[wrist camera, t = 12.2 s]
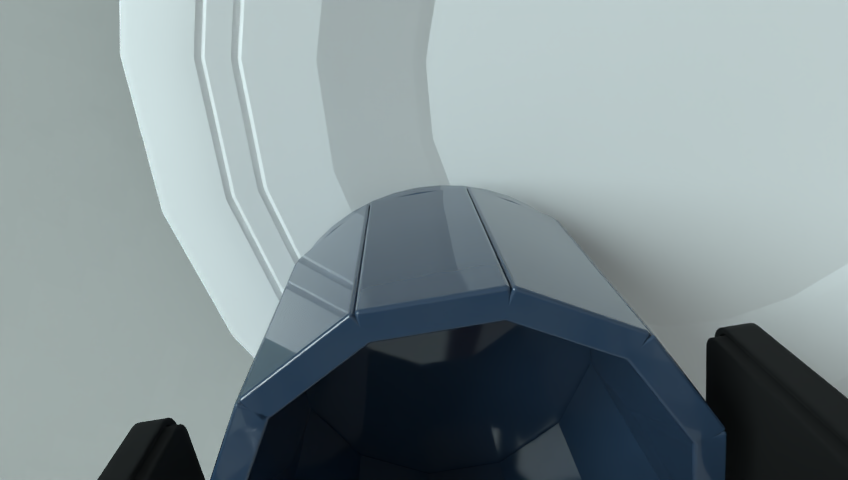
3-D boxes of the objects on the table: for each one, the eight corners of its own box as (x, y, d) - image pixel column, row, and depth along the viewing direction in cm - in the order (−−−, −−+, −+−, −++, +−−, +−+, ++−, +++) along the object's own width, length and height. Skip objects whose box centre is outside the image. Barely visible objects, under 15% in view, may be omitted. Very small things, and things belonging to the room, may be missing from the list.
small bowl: (319, 491, 15) (280, 733, 10) (242, 216, 12) (133, 347, 7) (609, 444, 15) (723, 663, 10) (592, 157, 12) (733, 248, 7)
